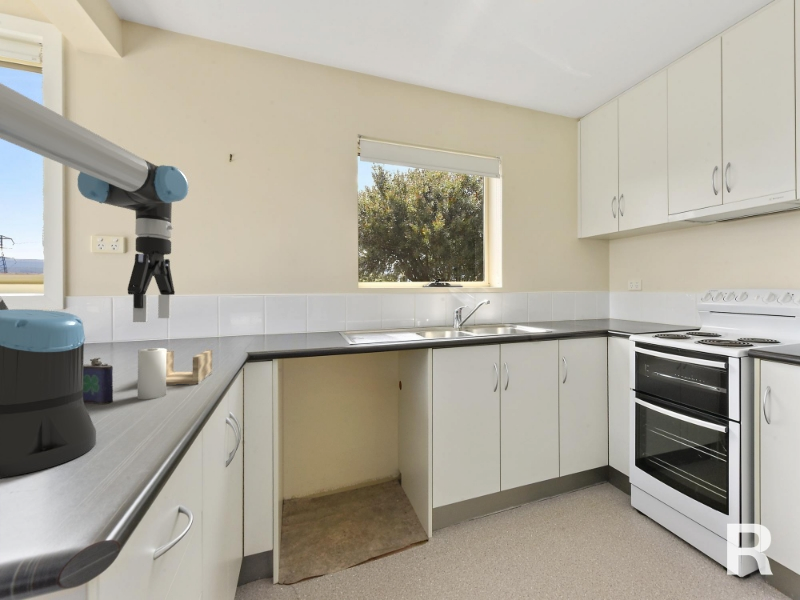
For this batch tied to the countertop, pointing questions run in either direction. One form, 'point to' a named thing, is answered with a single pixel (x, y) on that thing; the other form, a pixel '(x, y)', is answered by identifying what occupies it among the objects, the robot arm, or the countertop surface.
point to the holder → (200, 371)
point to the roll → (151, 373)
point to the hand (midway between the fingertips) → (153, 320)
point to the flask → (97, 382)
